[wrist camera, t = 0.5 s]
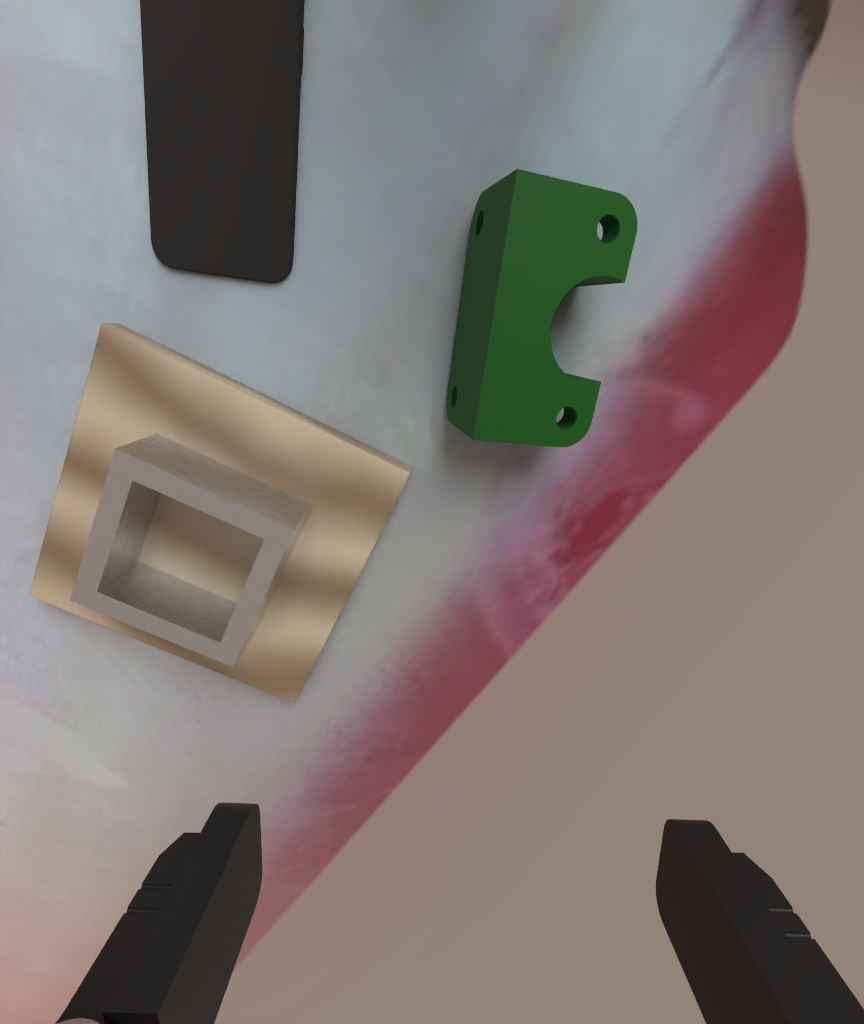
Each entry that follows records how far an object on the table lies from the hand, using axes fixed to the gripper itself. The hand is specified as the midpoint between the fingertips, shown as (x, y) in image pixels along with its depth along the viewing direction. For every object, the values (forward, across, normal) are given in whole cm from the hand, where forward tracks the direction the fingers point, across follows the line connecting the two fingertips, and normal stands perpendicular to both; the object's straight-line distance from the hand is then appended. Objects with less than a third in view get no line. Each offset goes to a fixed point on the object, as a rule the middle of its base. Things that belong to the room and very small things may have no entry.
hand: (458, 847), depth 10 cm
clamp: (+22, -4, -13) cm, 25 cm away
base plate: (+23, +14, 0) cm, 27 cm away
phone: (+21, +12, -22) cm, 32 cm away
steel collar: (+21, +14, 0) cm, 26 cm away
